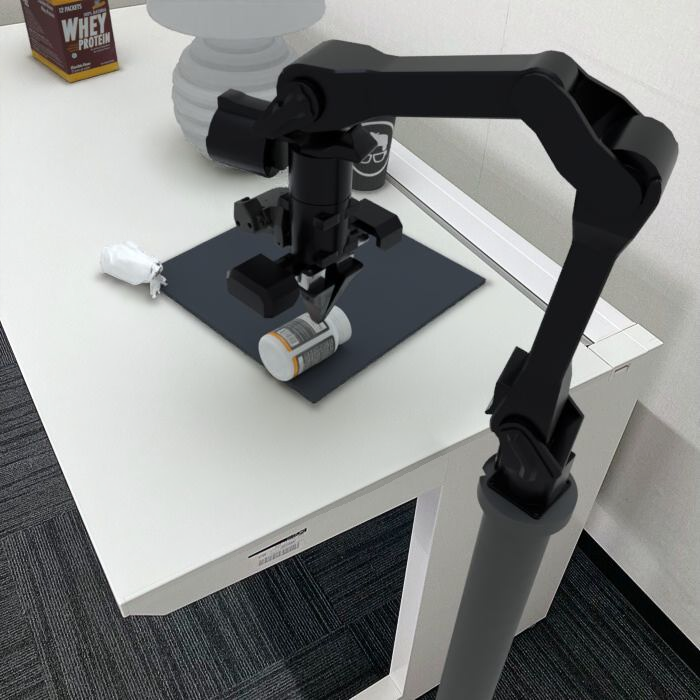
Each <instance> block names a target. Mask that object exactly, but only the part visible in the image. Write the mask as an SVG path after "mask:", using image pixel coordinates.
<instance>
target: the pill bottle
mask: <svg viewBox="0 0 700 700" xmlns="http://www.w3.org/2000/svg"><path fill="white" fill-rule="evenodd" d="M350 337H351V325H350V322H349V320H348V318H347V316H346V315H345V313H344V312H343V311H342V310H341V309H340V308H338V307H337V306H334V307H333V308H332V310H331V311H330V313H329V314H328V316H327V317H326V319H325V320H324V321H323V322H322V323H320V324H316V323H315V322H313V321H312V320H311V318H310V316H309V314H308V312H306V313H304V314H303V315H301V316H299V317H297V318H295V319H293V320H292V321H290V322H288V323H286V324H284V325H283V326H281V327H279V328H277V329H275V330H273V331H272V332H270V333H268V334H266V335H264V336H263V337H262V338H261V339H260V341H259V353H260V356H261V359H262V361H263V363H264V365H265V367H266V368H265V367H264V368H265V369H266V370H267V371H268V373H270V375H272V376H273V378H275V379H277V380H279V381H282V382H284V381H288V380H290V379H292V378H293V377H295V376H297V375H298V374H300V373H302V372H303V371H305V370H307V369H308V368H310V367H312V366H314V365H315V364H317V363H319V362H320V361H322V360H324V359H325V358H327V357H329V356H330V355H332V354H333V353H334V352H335V351H336V349H337V346H338V345H340V344H343V343H344V342H346V341H347V340H348V339H349V338H350Z"/></svg>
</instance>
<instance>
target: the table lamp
mask: <svg viewBox="0 0 700 700" xmlns="http://www.w3.org/2000/svg"><path fill="white" fill-rule="evenodd" d="M145 5H146V6H145V7H146V9H145V10H146V11H147V14H148V16H149V17H150V18H151V20H152V21H154V22H155V23H157V24H158V25H160V26H161V27H163V28H166V29H167V30H170V31H172V32H176V33H178V34H182V35H186V36H190V37H194V39H193V40H192V41H191V43H189V44H187V46H185V48H183V49H182V52H181V54H180V56H179V58H178V62H177V63H176V64H175V66H174V69H173V71H172V76H171V79H172V80H171V81H172V87H171V100H172V103H173V113H174V118H175V120H176V122H177V123H178V125H180V126H179V127H180V128H181V131H182V134H183V136H184V137H185V139H186V140H187V142H189V143H190V144H191V145H192V146H193V147H194V149H196V150H197V151H198V152H199V153H200V155H202V156H204V157H205V158H207V159H209V160H211V161H213V160H212V159H211V158H210V157H209V155H208V153H207V149H206V137H207V136H208V130H209V126H210V123H211V120H212V117H213V115H214V113H215V112H216V110H217V109H218V103H217V97H218V96H219V95H221V94H223V93H224V92H226V91H227V90H229V89H230V88H231V89H235V90H238V91H241V92H243V93H245V94H247V95H249V96H252V97H256V98H259V99H263V100H267V101H270V102H272V101H273V99H274V98H275V97H276V96H277V92H276V85H277V80H278V77H279V75H280V73H281V72H282V70H283V68H285V67H286V66H288V65H289V64H291V63H292V62H293V61H295V60H296V59H298V58H299V57H300V55H299V53H298V52H297V50H296V48H295V47H294V46H293V45H291V44H290V43H288V42H287V41H286V40H285V38H283V37H284V36H288V35H291V34H294V33H295V34H296V33H298V32H300V31H304V30H306V29H308V28H310V27H311V26H314V25H316V24H317V23H318V22H320V20H322V18H323V17H324V15H325V14H326V9H327V7H326V0H146V3H145ZM215 163H217V162H215ZM217 164H218V165H221V166H223V167H226V168H231V169H234V168H233V167H230V166H227V165H223V164H220V163H217Z"/></svg>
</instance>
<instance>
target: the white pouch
mask: <svg viewBox="0 0 700 700" xmlns="http://www.w3.org/2000/svg"><path fill="white" fill-rule="evenodd" d="M161 263H162V262H161V260H160V259H159V258H158V257H156V256H153V255H152V254H150V253H148V252H146V251H145V250H144V249H142V248H141V247H139V246H138V245H137V244H136V243H135V242H133V241H131V240H124V242H122V243H115V244H110V245H106V246H105V247H103V248H101V251H100V256H99V264H100V266H101V269H102V270H100V272H99V273H100V274H108V275H109V276H112V277H114V278H116V279H118V280H120V281H123V282H126V283H128V284H131V285H132V286H138V285H140V284H150V285H149V287H150V288H149V289H150V291H149V292H150V296H151V298H152V299H156V298H157V295H156V293H158V294H159V295H160V294H161V291H160V283H161V284H164V285H167V284H166V283H165V281H166V279H165V278H164V277H163V276H161V275H160V273H161V272H162V270H163V266H162V265H161Z"/></svg>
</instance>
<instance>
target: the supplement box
mask: <svg viewBox="0 0 700 700" xmlns="http://www.w3.org/2000/svg"><path fill="white" fill-rule="evenodd" d="M19 1H20V5H21V10H22V15H23V19H24V24H25V28H26V32H27V37H28V41H29V46H30V50H31V54H32V57H33V58H35V59H36V60H38V61H39V62H40V63H42V64H43V65H45V66H46V67H47V68H48V69H50V70H51V71H52V72H54V73H55V74H57V75H58V76H59V77H60V78H63V80H65V81H66V82H68V83H74V82H77V81H82V80H85V79H89V78H93V77H96V76H100V75H103V74H107V73H110V72H114V71H118V70H120V67H119V60H118V59H119V58H118V53H117V47H116V41H115V35H114V30H113V22H112V17H111V9H110V4H109V0H19Z"/></svg>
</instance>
